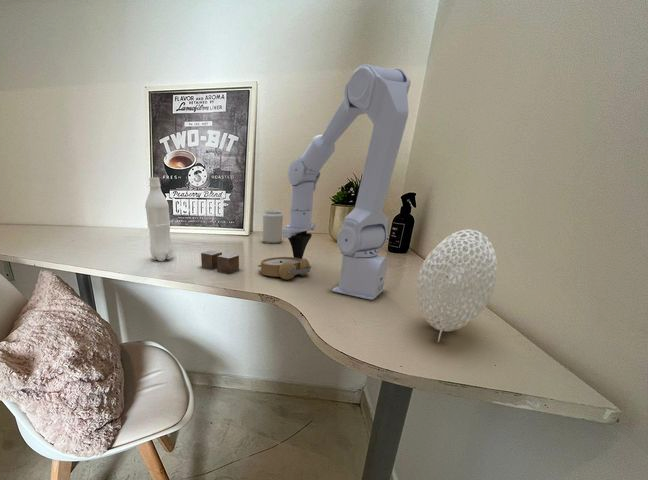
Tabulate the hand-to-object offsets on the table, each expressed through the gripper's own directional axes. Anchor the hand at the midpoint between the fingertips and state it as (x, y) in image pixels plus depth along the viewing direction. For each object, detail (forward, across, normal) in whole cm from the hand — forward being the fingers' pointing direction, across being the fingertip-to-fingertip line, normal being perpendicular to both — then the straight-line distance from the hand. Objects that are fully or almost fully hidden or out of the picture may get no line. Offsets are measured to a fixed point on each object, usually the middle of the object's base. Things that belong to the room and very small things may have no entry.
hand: (297, 259), depth 96 cm
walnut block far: (+3, +13, -21) cm, 25 cm away
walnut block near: (+3, +13, -15) cm, 20 cm away
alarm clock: (+3, +7, 0) cm, 7 cm away
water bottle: (+3, +16, -41) cm, 44 cm away
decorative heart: (+3, +19, +40) cm, 45 cm away
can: (+3, -28, -27) cm, 39 cm away
